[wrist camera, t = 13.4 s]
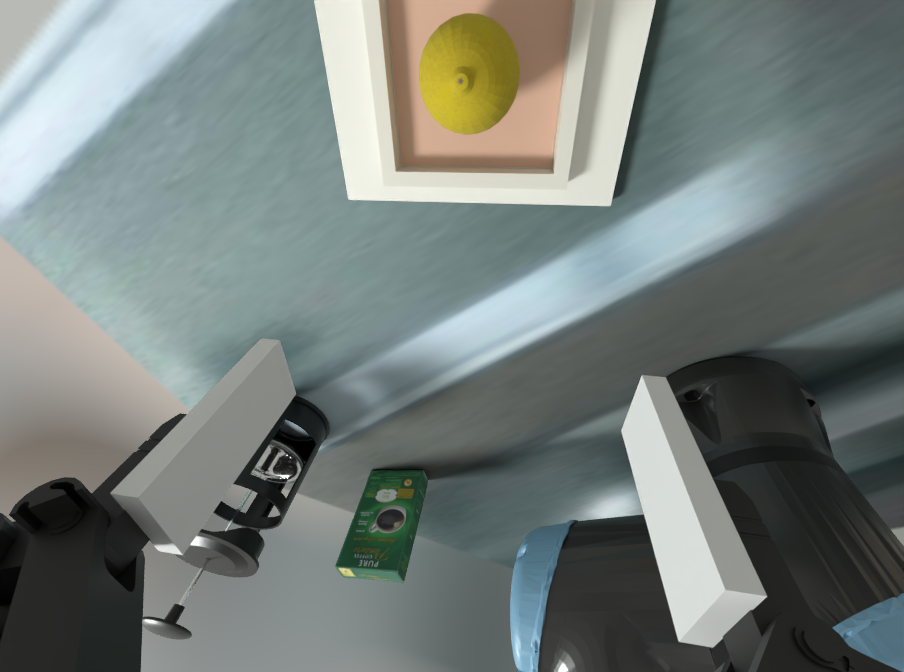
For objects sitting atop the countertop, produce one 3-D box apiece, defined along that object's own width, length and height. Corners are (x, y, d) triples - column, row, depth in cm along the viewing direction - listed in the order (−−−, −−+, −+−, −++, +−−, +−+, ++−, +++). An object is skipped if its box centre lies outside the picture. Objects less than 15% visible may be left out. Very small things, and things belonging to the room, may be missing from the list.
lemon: (510, 4, 22) (507, -17, 16) (526, 110, 25) (528, 129, 19) (421, 37, 24) (386, 30, 17) (446, 134, 27) (423, 158, 20)
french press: (253, 382, 47) (79, 595, 28) (329, 399, 47) (204, 625, 28) (264, 442, 54) (131, 644, 35) (330, 457, 54) (231, 668, 35)
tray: (676, -117, 20) (694, -137, 18) (608, 201, 29) (614, 212, 27) (305, -90, 22) (284, -105, 20) (352, 196, 31) (341, 205, 29)
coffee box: (375, 481, 56) (341, 580, 45) (368, 468, 54) (332, 569, 43) (428, 481, 54) (407, 585, 43) (423, 468, 52) (399, 572, 42)
